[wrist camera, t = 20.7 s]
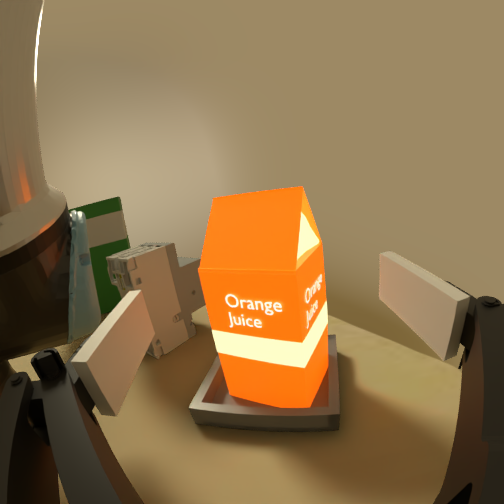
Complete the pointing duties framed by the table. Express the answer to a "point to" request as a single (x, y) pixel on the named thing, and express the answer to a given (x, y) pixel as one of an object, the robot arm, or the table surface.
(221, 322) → the juice carton
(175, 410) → the table surface
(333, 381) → the tray
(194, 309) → the circuit breaker
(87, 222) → the green box
